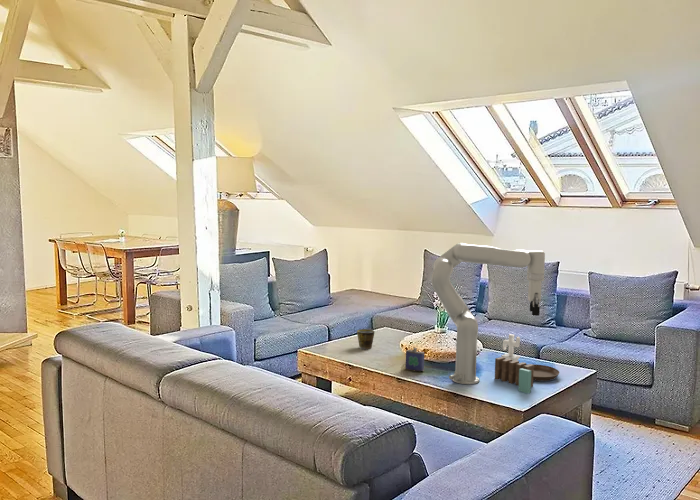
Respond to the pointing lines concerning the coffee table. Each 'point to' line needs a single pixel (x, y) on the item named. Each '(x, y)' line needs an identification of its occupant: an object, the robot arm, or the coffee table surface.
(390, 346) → the coffee table surface
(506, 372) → the domino
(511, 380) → the domino
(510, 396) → the coffee table surface
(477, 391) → the coffee table surface
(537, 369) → the plant saucer
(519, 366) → the domino
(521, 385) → the tile
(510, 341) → the figurine
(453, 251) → the robot arm
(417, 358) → the flask
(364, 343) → the ceramic cup
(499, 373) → the domino
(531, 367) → the domino
